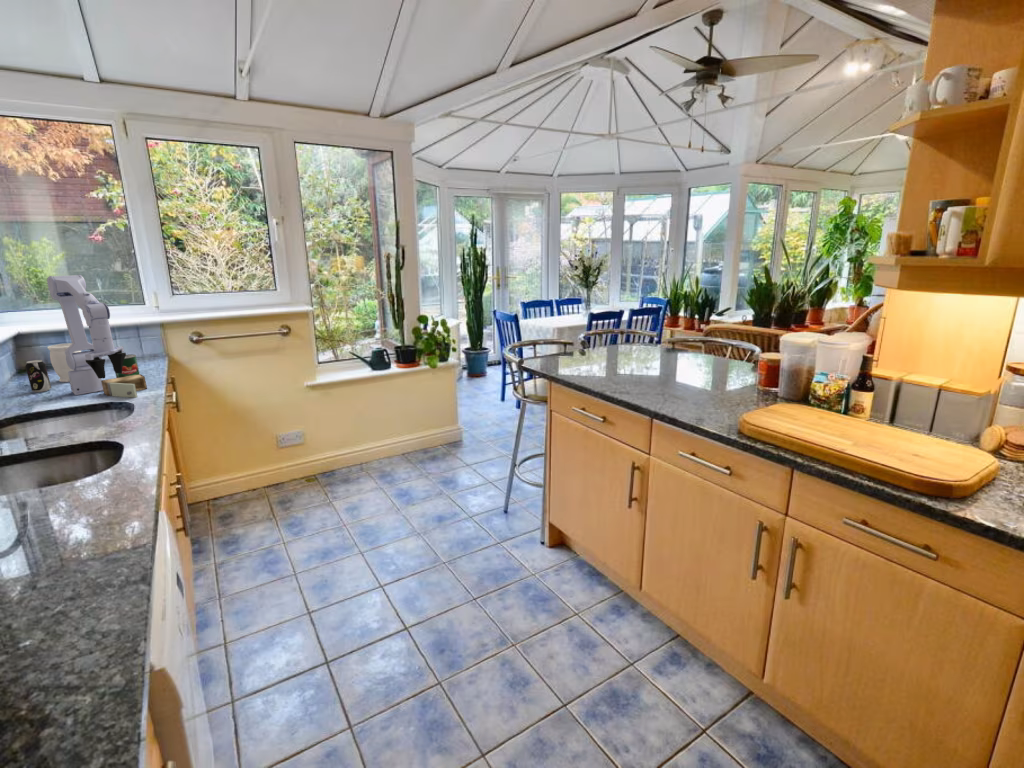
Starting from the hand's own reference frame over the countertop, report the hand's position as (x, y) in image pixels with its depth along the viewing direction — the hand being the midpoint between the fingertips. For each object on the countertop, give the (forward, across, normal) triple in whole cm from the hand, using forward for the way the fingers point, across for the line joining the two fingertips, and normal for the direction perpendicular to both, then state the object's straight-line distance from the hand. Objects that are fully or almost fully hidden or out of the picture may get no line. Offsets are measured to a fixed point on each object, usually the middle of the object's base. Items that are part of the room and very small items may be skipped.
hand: (110, 375), depth 183 cm
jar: (+10, +30, +43) cm, 53 cm away
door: (+9, +5, +1) cm, 11 cm away
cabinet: (+9, +13, +6) cm, 17 cm away
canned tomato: (+10, +26, +15) cm, 31 cm away
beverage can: (+10, +13, +40) cm, 43 cm away
